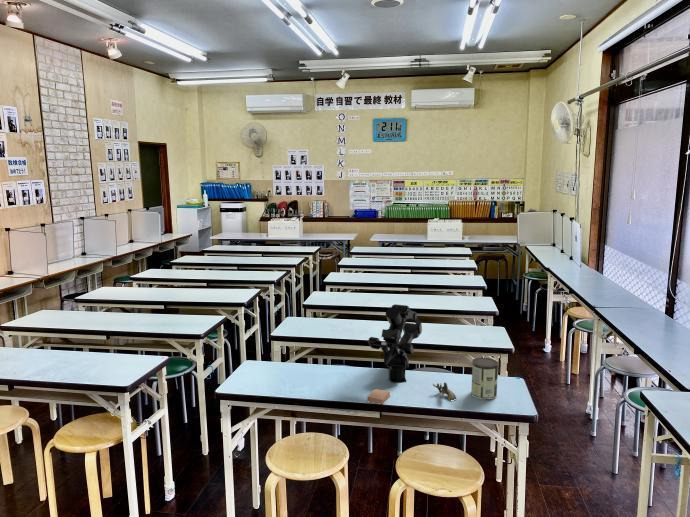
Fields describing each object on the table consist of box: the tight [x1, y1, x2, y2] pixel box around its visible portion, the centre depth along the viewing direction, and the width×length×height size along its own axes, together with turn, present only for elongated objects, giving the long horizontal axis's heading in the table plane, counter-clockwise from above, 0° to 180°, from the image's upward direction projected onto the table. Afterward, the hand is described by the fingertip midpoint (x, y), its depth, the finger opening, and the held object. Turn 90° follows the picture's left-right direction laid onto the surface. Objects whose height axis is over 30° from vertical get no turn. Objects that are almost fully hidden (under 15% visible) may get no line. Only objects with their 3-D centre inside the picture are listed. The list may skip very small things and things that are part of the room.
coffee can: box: [470, 357, 499, 400], centre depth 208 cm, size 10×10×14 cm
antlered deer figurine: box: [432, 380, 457, 402], centre depth 206 cm, size 8×7×9 cm
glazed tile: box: [366, 388, 391, 405], centre depth 205 cm, size 2×6×8 cm
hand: (385, 364), depth 209 cm, fingers closed
